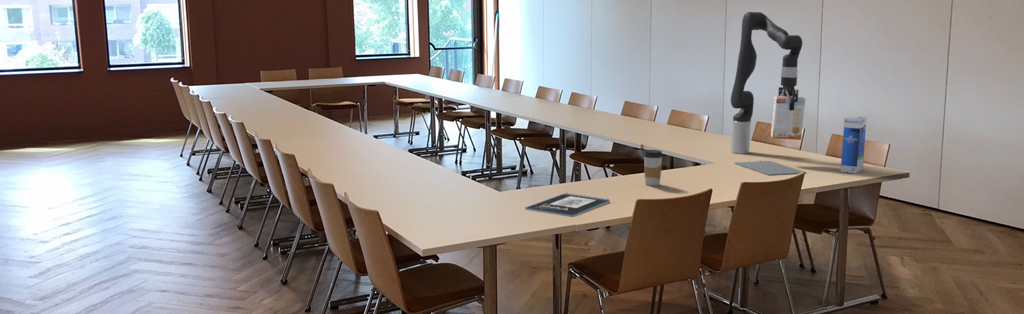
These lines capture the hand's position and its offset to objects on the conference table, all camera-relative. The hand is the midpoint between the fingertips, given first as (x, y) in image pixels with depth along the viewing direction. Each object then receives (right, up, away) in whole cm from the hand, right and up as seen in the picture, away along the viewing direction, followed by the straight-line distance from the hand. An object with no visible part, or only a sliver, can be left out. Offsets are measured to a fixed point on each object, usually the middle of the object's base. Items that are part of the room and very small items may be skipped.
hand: (787, 109), depth 430 cm
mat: (-11, -29, -7) cm, 32 cm away
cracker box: (0, -15, +3) cm, 15 cm away
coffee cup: (-74, -36, -46) cm, 94 cm away
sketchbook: (-114, -44, -86) cm, 149 cm away
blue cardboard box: (+27, -30, -14) cm, 43 cm away
